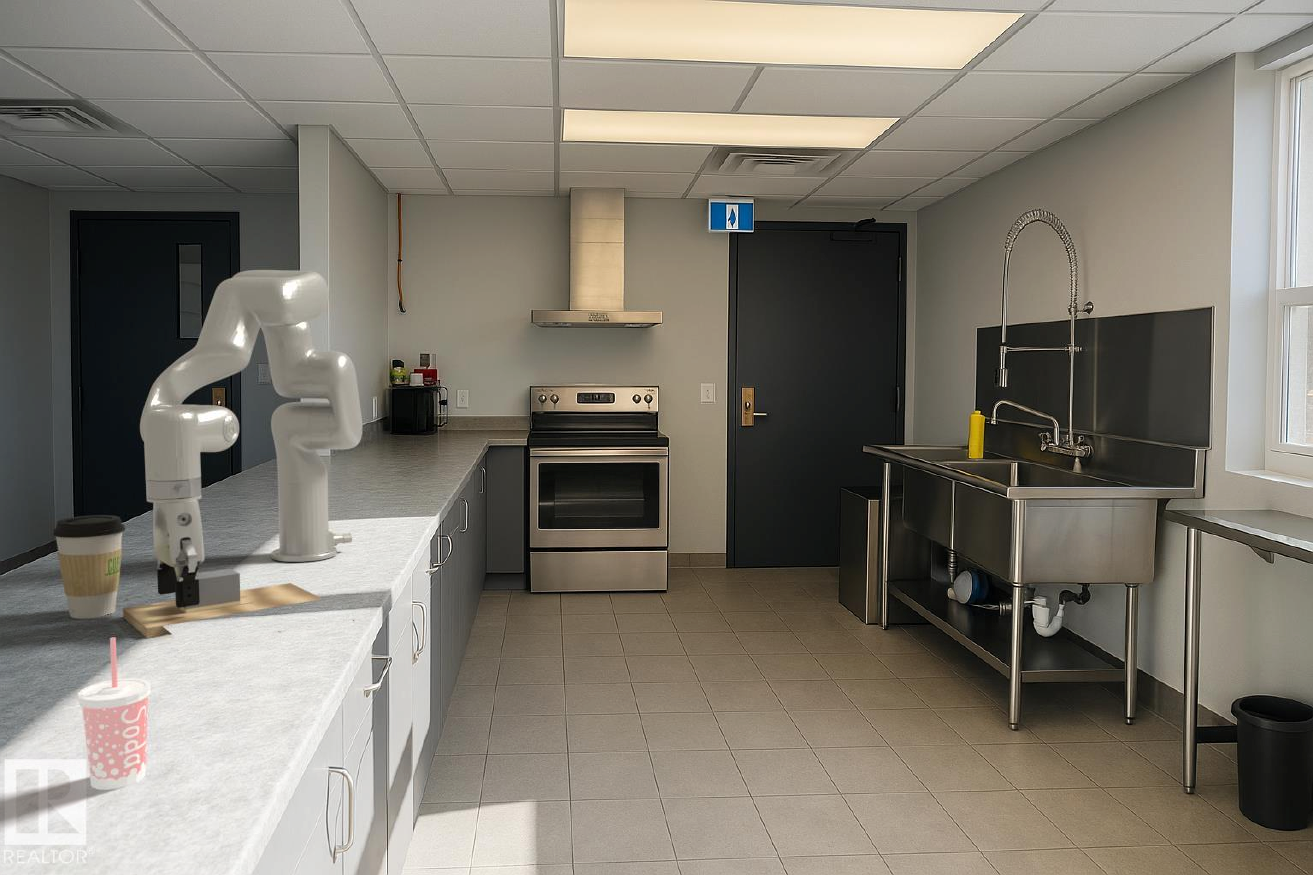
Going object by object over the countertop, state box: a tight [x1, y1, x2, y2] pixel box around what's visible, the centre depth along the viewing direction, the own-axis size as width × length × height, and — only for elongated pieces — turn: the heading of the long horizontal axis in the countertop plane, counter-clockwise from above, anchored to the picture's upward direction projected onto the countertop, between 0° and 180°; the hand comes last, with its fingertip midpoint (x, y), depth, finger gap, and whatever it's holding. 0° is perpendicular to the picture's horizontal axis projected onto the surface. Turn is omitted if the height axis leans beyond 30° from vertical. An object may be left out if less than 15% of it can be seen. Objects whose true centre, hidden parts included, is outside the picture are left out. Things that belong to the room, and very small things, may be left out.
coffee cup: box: [52, 514, 126, 620], centre depth 148 cm, size 10×10×15 cm
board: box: [122, 582, 323, 639], centre depth 150 cm, size 26×14×2 cm, turn 132°
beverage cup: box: [77, 636, 152, 791], centre depth 90 cm, size 6×6×14 cm
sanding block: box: [177, 568, 241, 613], centre depth 148 cm, size 8×4×5 cm, turn 132°
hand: (178, 599), depth 145 cm, fingers open, 9 cm apart
